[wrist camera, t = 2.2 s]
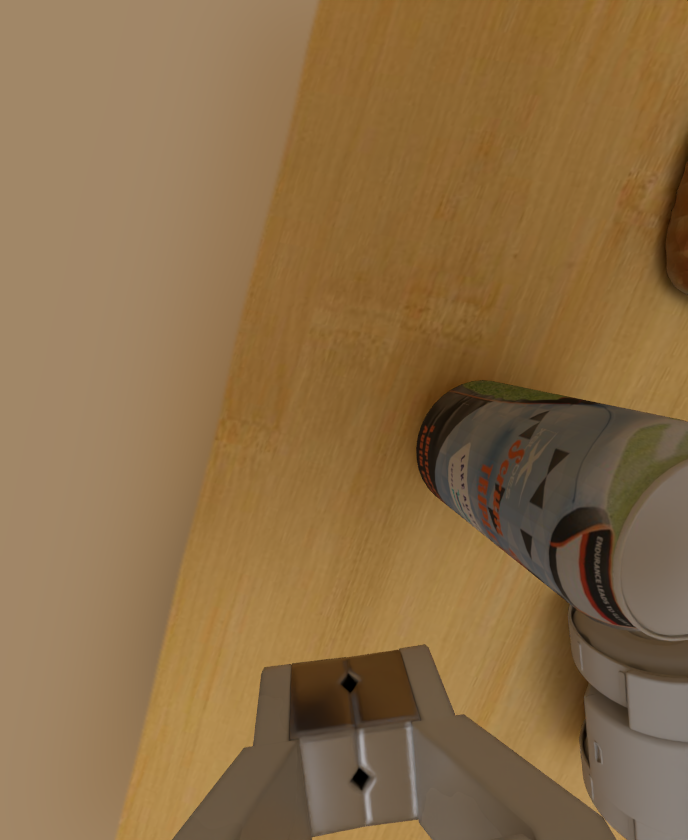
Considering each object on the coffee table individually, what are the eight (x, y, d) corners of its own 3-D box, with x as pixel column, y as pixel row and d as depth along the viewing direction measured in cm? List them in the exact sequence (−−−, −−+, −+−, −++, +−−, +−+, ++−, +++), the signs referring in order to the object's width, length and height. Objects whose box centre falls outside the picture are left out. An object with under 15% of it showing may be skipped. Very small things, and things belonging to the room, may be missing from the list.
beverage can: (393, 400, 22) (501, 497, 10) (540, 351, 22) (815, 391, 10) (428, 517, 23) (557, 720, 12) (566, 471, 23) (831, 625, 12)
